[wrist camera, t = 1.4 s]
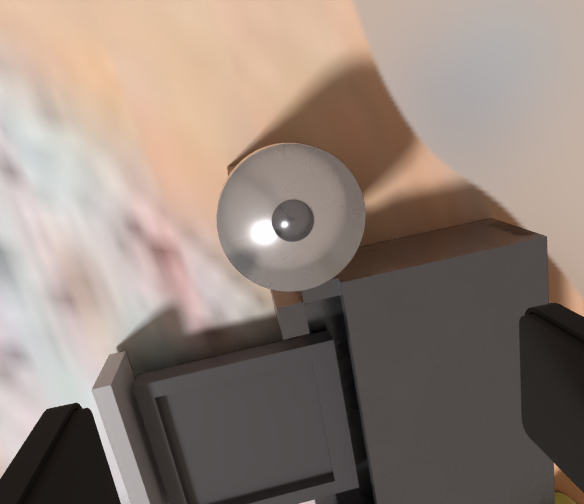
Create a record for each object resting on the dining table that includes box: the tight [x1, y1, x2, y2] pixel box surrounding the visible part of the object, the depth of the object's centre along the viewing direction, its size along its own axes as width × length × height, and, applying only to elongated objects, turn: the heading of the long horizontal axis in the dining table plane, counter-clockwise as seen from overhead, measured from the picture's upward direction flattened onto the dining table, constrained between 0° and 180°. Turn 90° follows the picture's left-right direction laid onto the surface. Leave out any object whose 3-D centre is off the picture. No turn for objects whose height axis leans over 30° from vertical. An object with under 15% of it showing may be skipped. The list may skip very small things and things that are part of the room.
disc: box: [217, 143, 366, 292], centre depth 22 cm, size 7×7×2 cm
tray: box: [92, 330, 359, 504], centre depth 29 cm, size 14×14×4 cm
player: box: [271, 218, 555, 504], centre depth 30 cm, size 20×15×5 cm
